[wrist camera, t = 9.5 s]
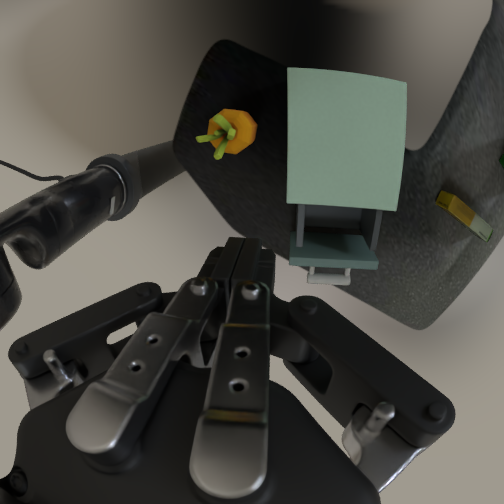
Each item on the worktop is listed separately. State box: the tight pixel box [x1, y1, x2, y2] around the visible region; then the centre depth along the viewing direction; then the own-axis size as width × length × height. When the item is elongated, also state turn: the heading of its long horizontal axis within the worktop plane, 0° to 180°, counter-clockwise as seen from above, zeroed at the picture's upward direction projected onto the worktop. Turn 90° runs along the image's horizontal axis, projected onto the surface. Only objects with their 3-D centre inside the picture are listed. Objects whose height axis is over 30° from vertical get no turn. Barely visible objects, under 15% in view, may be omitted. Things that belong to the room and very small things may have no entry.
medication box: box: [436, 190, 493, 243], centre depth 33 cm, size 12×3×4 cm, turn 68°
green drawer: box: [289, 204, 383, 285], centre depth 34 cm, size 18×11×8 cm, turn 1°
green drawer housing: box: [287, 68, 407, 211], centre depth 29 cm, size 15×13×10 cm
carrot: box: [196, 109, 257, 160], centre depth 28 cm, size 5×5×15 cm
